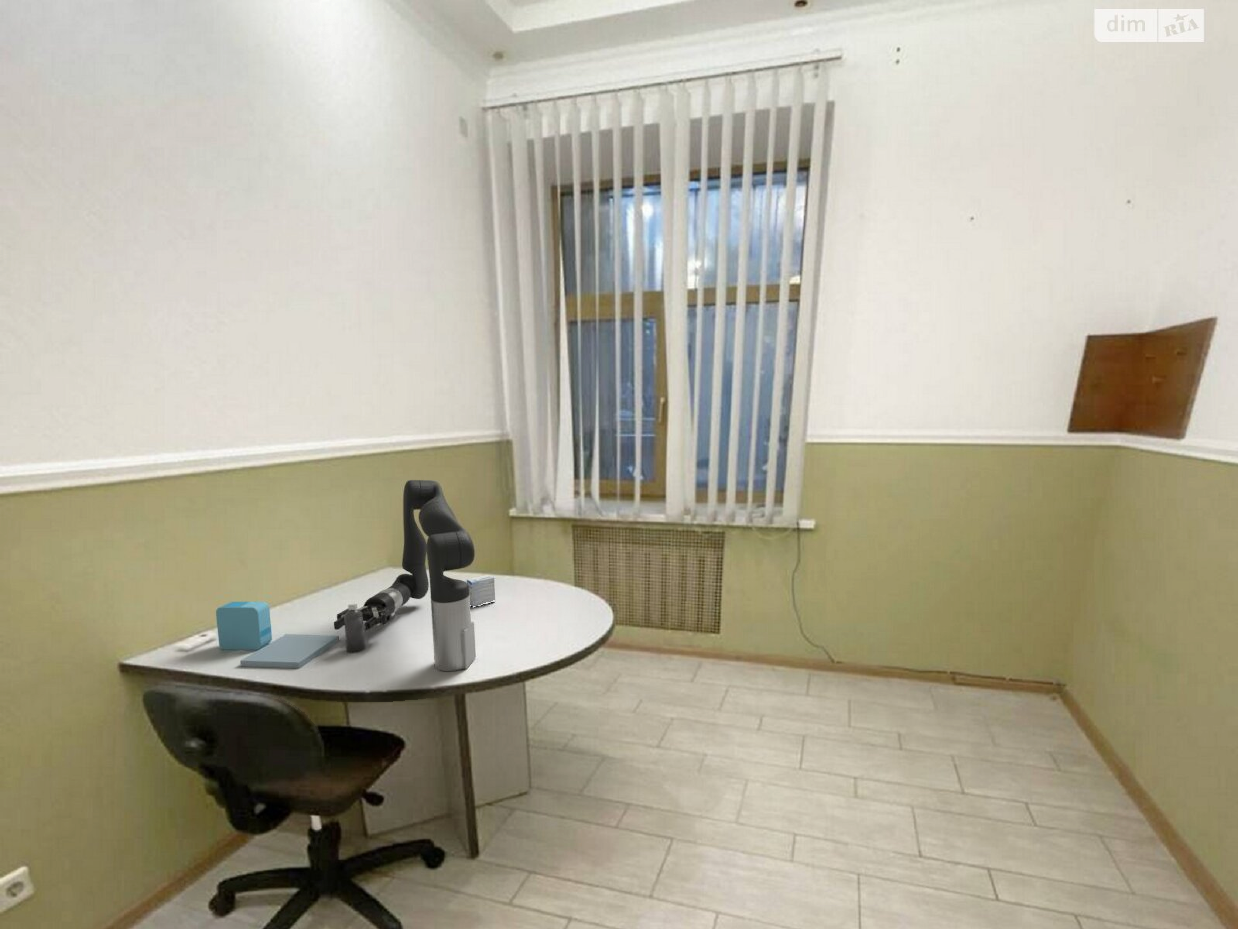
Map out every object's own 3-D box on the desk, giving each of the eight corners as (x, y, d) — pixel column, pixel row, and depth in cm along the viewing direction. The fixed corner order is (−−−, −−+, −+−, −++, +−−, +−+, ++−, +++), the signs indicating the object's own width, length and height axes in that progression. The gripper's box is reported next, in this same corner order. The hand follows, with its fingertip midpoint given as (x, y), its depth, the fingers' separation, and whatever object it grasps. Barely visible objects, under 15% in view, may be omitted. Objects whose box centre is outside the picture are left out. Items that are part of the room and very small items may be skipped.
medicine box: (489, 599, 179) (488, 574, 178) (495, 602, 175) (494, 577, 175) (467, 605, 174) (466, 579, 173) (473, 608, 170) (472, 582, 170)
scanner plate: (339, 640, 148) (339, 635, 148) (299, 668, 132) (299, 662, 132) (286, 639, 150) (286, 634, 150) (240, 666, 134) (240, 660, 134)
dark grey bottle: (368, 646, 144) (365, 601, 143) (358, 653, 140) (355, 607, 139) (353, 645, 145) (349, 601, 143) (343, 652, 140) (339, 607, 139)
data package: (273, 643, 147) (269, 601, 146) (260, 650, 143) (257, 607, 142) (232, 642, 148) (228, 601, 147) (219, 650, 144) (214, 607, 143)
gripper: (360, 591, 156) (324, 612, 140) (406, 592, 155) (375, 613, 139) (361, 616, 157) (326, 639, 141) (407, 617, 156) (376, 640, 140)
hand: (350, 626), depth 140 cm, fingers open, 8 cm apart
